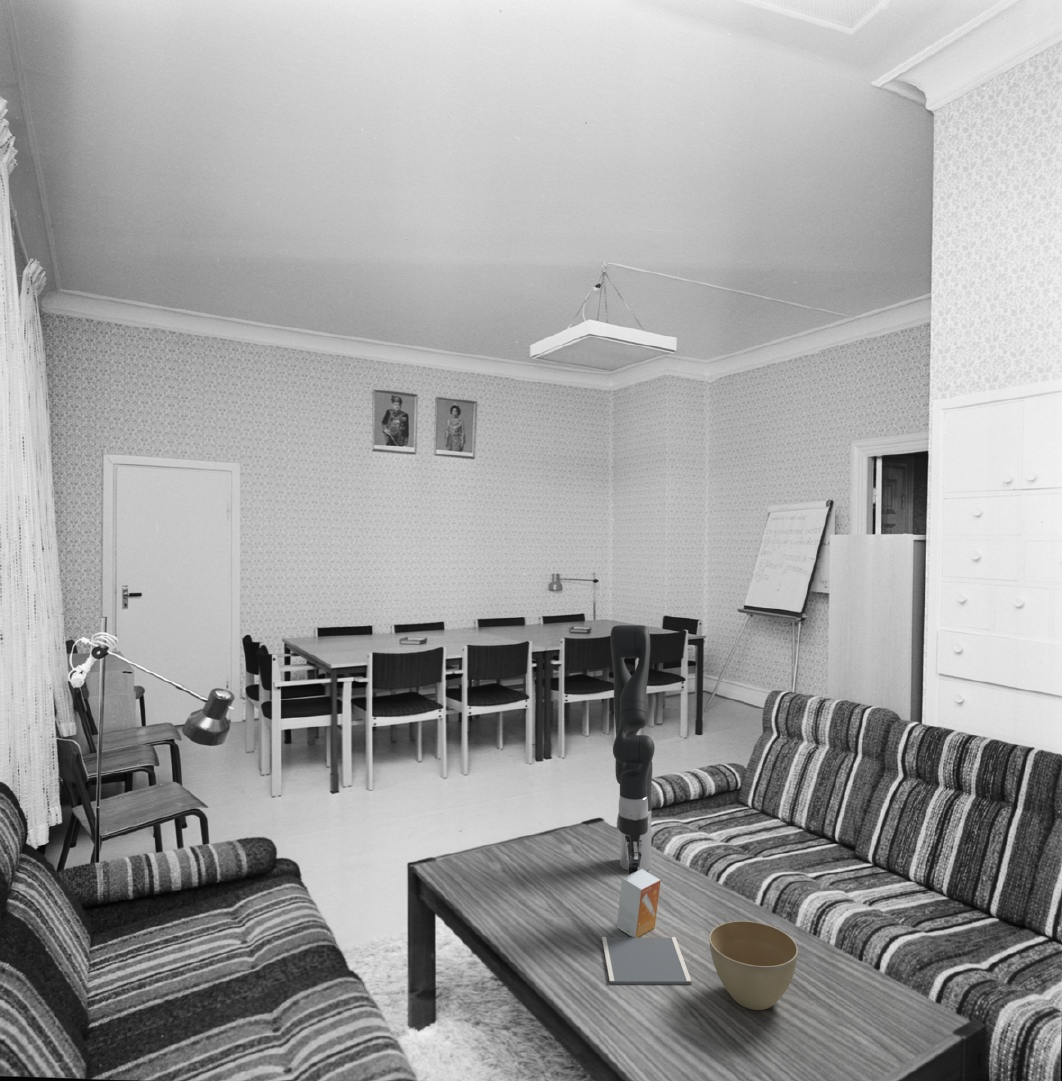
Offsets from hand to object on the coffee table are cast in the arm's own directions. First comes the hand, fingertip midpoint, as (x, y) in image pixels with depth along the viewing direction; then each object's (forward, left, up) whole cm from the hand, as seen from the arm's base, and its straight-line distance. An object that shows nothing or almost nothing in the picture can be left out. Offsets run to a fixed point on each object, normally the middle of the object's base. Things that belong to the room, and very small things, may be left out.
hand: (632, 879), depth 193 cm
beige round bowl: (+33, +21, -10) cm, 41 cm away
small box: (+5, 0, -10) cm, 11 cm away
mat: (+19, 0, -10) cm, 22 cm away
